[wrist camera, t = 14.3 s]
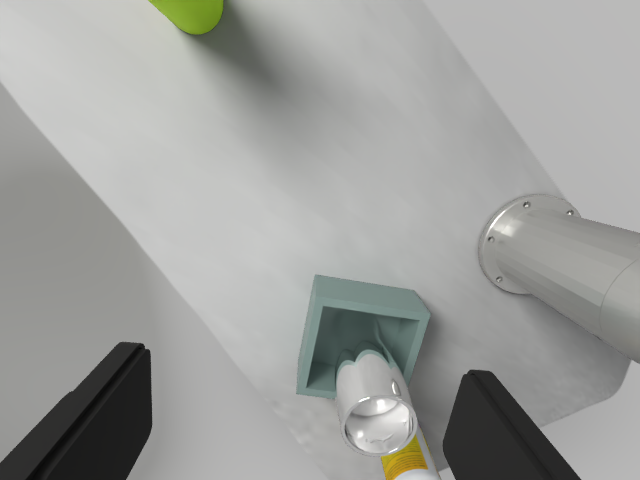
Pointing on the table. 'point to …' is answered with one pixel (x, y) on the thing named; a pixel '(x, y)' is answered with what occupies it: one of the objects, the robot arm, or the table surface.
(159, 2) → the soap dispenser
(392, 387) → the beer glass
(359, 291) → the box
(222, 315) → the table surface
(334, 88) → the table surface
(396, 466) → the supplement bottle
